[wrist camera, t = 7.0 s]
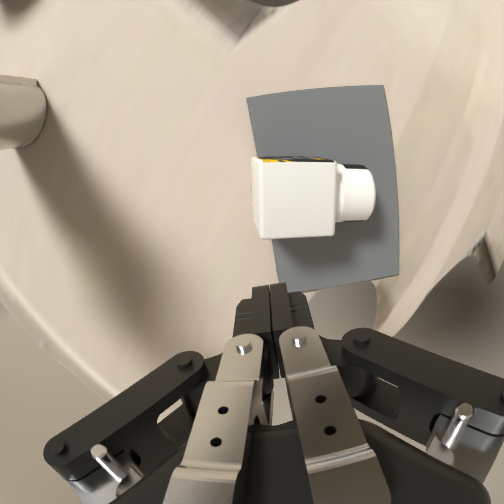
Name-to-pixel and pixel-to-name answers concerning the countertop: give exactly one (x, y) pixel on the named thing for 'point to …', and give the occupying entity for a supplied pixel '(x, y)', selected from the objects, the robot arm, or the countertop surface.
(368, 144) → the rubber mat
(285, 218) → the medicine bottle
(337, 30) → the countertop surface
